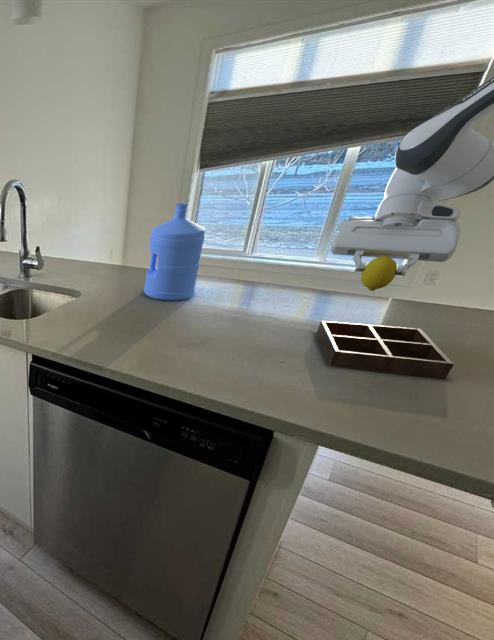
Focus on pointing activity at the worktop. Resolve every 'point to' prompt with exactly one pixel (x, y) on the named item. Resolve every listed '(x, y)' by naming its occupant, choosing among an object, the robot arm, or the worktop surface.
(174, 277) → the water jug
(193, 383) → the worktop surface
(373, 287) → the lemon
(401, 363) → the grid
